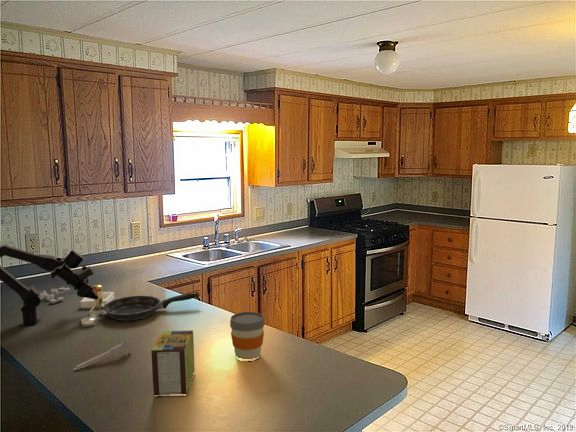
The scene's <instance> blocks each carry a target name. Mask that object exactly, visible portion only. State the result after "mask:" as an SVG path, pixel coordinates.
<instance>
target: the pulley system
mask: <svg viewBox="0 0 576 432" xmlns="http://www.w3.org/2000/svg"><path fill="white" fill-rule="evenodd" d="M39 291H40V294H41V300H47V302H50V303H49V304H56V303H58V302H62V301H64V299H65V298H64V297H63V296H58V295H60V294H63V293H66V292H70V287H60V288H52V289H50V292H51V293H47V291H46V290H39Z"/></svg>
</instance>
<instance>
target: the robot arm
mask: <svg viewBox="0 0 576 432" xmlns="http://www.w3.org/2000/svg"><path fill="white" fill-rule="evenodd" d="M4 256H5V257H8V258H12V259H17V260H19V261H23V262H26V263H31V264H33V265H35V266H37V267H39V268H40V269H43V270H45V271H47V272H49V273H50V275H51V276H50V279H54V278H55V277H57V278H58V279H60V280H62V281H63V282H64V283H65V285H66V286H67V285H68V286H70V287H72V288H73V290H75V292H76V296H78V297H79V298H85V297H86V298H91V299H98V296H97V295H96V294H95V293H94V292H93V286H92V285H91V284H90V283H89V279H88V277H91V276H93V275H94V274H95V273H94V271H93V269H92V267H91V266H86V265H83V266H82V267H81V270H80V271H78V272H77V271H73V270H72V269H77V268H79V266H80V265H81V264H82V262H83V261H84V260H85V257H84V256H83V255H81V254H80V253H79V252H76V251H75V250H73V249H71V250H70V252H68V254H67V255H66V256H65V257H56V256H54V255H49V254H37V253H34V252H30V251H27V250H23V249H20V248H16V247H13V246H10V245H8V244H2V245H1V246H0V258H2V257H4ZM0 281H1V282H2V283H3V284H5V285H6V286H7V287H9V288H10V289H11V290H13V291H14V292H15V293H16V294H18V296H19V297H20V298H21V300H22V303H21V306H20V311H21V316H22V322H21V323H19V326H21V327H22V326H35V325H37V324H38V323H39V322H40V321H41V320H42V319H41V318H38V309H37V307H38V306H40V304H41V294H40V291H41V290H38V289H37V288H36V287H35V286H34V285H31V287H29V286H27V285H25V284H23V282H22V281H20V280H18V278H16V277H15V276H14V275H13V274H11V273H10V272H9V271H8V270H6V269H5V268H4V267H3V266H1V265H0Z"/></svg>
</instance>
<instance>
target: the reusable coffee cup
mask: <svg viewBox="0 0 576 432" xmlns="http://www.w3.org/2000/svg"><path fill="white" fill-rule="evenodd" d="M265 324H266V323H265V317H264V315H263V314H262V313H259V312H256V311H255V312H254V311H243V312H237V313H234V314H232V315H231V316H230V322H229V326H230V328H231V331H230V336H231V341H232V346H233V347H234V354H235V357H236V356H237V357H238V358H242V359H253V358H257V357H258V356H259V355H260V356H261V352H262V346H263V344H264V333H265V331H264V327H265Z"/></svg>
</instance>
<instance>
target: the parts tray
mask: <svg viewBox="0 0 576 432" xmlns="http://www.w3.org/2000/svg"><path fill="white" fill-rule="evenodd" d="M102 292H103V306H105V305H106V304H107V303H109V302H111V301H113V300H115V292H114V291H106V292H105V291H102ZM93 307H94V299H91V298H86V297H83V298H82V300H80V309H92V308H93Z"/></svg>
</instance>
